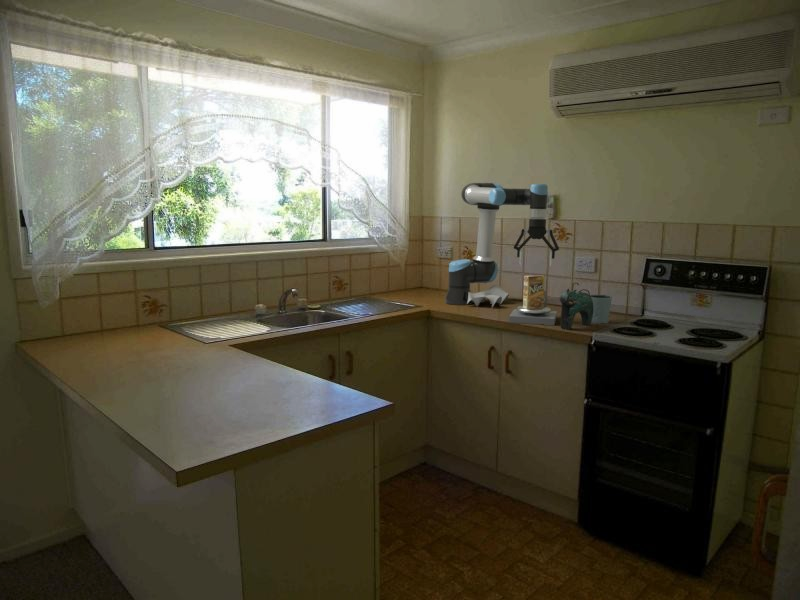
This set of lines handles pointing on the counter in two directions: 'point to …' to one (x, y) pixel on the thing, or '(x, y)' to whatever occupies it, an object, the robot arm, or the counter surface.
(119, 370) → the counter surface
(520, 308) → the scale pan
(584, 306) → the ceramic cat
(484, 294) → the white irregular piece
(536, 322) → the kitchen scale
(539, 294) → the candy box
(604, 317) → the pale blue cup
